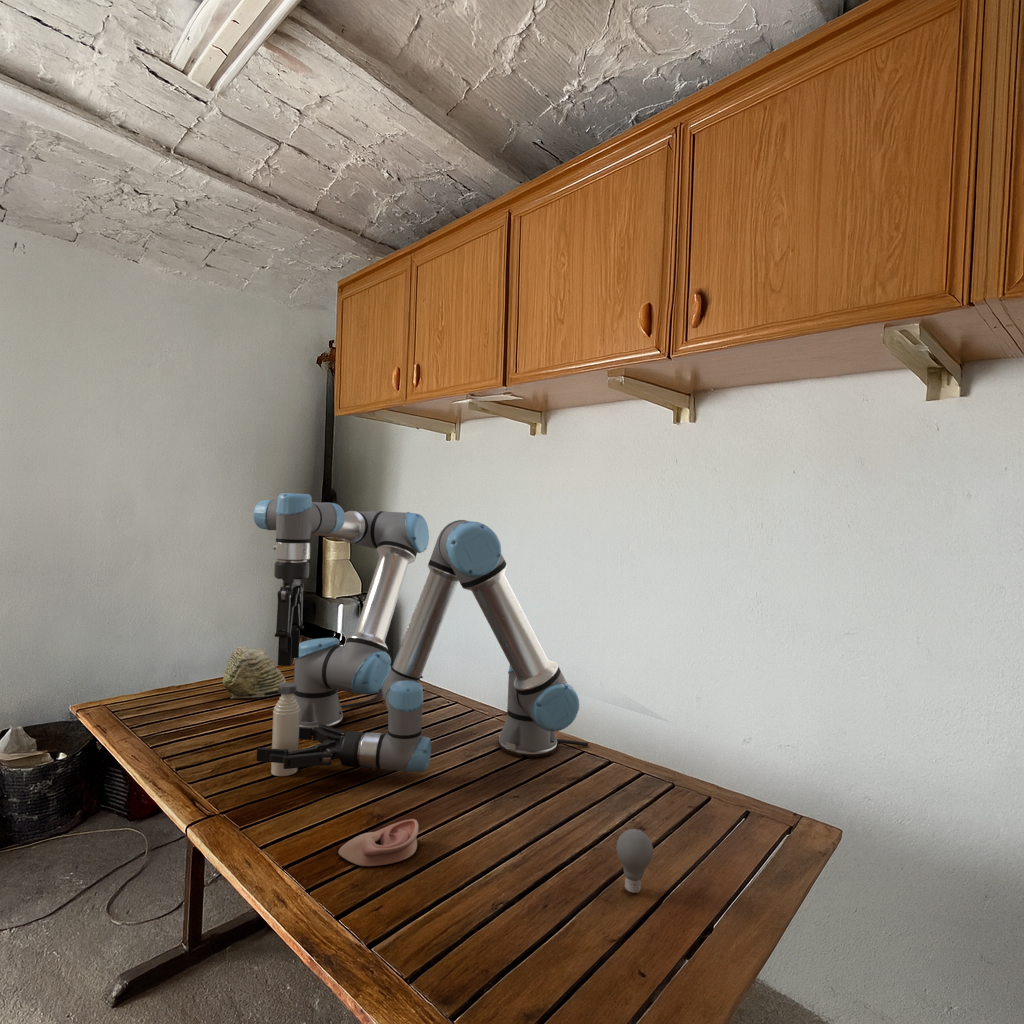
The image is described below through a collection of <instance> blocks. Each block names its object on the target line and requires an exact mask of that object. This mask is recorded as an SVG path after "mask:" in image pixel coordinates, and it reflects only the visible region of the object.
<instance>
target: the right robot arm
mask: <svg viewBox="0 0 1024 1024" xmlns="http://www.w3.org/2000/svg"><path fill="white" fill-rule="evenodd" d="M501 544H502V543H501V541H500V539H499V536H498V535H497V534H496V532H494V531H493V529H492V528H491V527H489V526H488V525H486V524H485V523H481V522H479V521H473V520H465V519H457V520H454V521H451V522H449V523H447V525H445V526H444V527H443V528H442V529H441V530H440V532H439V534H438V536H437V539H436V542H435V544H434V547H433V550H432V552H431V556H430V559H429V561H428V564H427V568H428V569H429V571H428V575H427V577H426V579H425V582H424V585H423V588H422V589H421V592H420V595H419V598H418V599H417V602H416V605H415V607H414V610H413V613H412V615H411V618H410V620H409V623H408V626H407V627H406V631H405V633H404V636H403V638H402V640H401V643H400V645H399V648H398V650H397V654H396V656H395V659H394V660H393V663H392V665H391V671H390V673H389V675H387V676H386V677H385V679H384V680H383V683H382V688H381V689H382V692H381V696H382V698H383V700H384V703H385V706H386V710H387V712H388V714H387V715H388V722H387V723H388V724H387V726H388V727H387V733H384V732H383V733H382V732H370V731H367V732H365V733H364V732H363V731H352V730H351V731H346V730H341V729H338V728H336V727H335V728H332V727H329V726H326V725H322V724H320V725H319V727H314V728H313V729H312V728H308V727H299V740H302V741H303V740H306V741H311V740H312V742H316V741H317V742H318V743H316V744H315V745H314V746H312V747H307V748H301V749H299V750H296V751H290V752H288V749H285V750H283V749H272V747H270V748H269V747H257V748H256V762H262V763H263V762H264V763H271V762H274V763H284V766H283V768H284V769H291V768H298V769H299V768H300V769H301V768H308V767H316V766H318V767H319V766H328V767H329V766H332V760H339V761H340V764H341V765H342V766H343V767H348V768H358V767H360V768H364V769H371V770H372V771H375V770H388V771H399V772H405V773H423V772H425V771H426V770H427V769H428V767H429V765H430V762H431V761H430V760H431V754H432V741H431V739H430V738H429V737H428V736H424V735H423V731H422V723H423V722H422V721H423V707H424V706H423V704H424V701H425V700H424V699H425V698H424V689H423V688H424V687H423V685H422V683H420V680H421V679H422V678H421V675H422V676H423V674H424V673H423V672H424V670H425V668H426V665H427V663H428V659H429V658H430V656H431V652H432V649H433V647H434V644H435V642H436V639H437V637H438V635H439V632H440V629H441V627H442V625H443V623H444V619H445V617H446V614H447V611H448V609H449V607H450V604H451V601H452V599H453V596H454V594H455V592H456V589H457V586H458V584H460V586H461V588H462V589H464V590H466V591H470V592H471V593H472V595H473V597H474V598H475V601H476V602H477V604H478V606H479V608H480V610H481V612H482V614H483V616H484V617H485V620H486V621H487V623H488V625H489V627H490V629H491V631H492V632H493V635H494V637H495V639H496V640H497V643H498V644H499V646H500V649H501V650H502V652H503V654H504V656H505V658H506V661H508V664H509V667H508V672H507V674H508V684H507V688H508V689H507V711H506V718H505V721H504V723H503V726H502V729H501V731H500V734H499V737H498V747H499V749H500V750H501V751H502V752H504V753H506V754H507V755H511V756H513V757H517V758H518V757H519V758H526V759H528V758H529V759H536V758H537V759H539V758H544V757H548V756H550V755H553V754H554V753H556V752H557V749H558V744H563V745H564V744H565V745H572V746H580V747H589V742H588V741H579V740H569V739H559V738H557V735H556V732H559V731H562V730H565V729H566V728H568V727H569V726H570V725H572V724H573V722H575V720H576V718H577V715H578V712H579V710H580V698H579V694H578V693H577V691H576V690H575V688H574V687H573V686H572V685H570V684H569V683H568V682H567V680H566V678H565V676H564V674H563V673H562V670H561V667H560V666H559V664H558V663H557V661H555V660H552V659H550V658H548V657H547V655H546V653H545V651H544V649H543V647H542V645H541V643H540V641H539V639H538V637H537V635H536V633H535V631H534V629H533V627H532V625H531V624H530V621H529V619H528V617H527V615H526V614H525V612H524V610H523V607H522V606H521V604H520V602H519V600H518V598H517V595H516V594H515V592H514V590H513V588H512V586H511V584H510V582H509V580H508V578H507V576H506V571H507V568H508V563H507V562H506V560H505V557H504V556H503V554H502V545H501ZM324 730H325V731H324Z"/></svg>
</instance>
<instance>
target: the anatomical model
mask: <svg viewBox="0 0 1024 1024" xmlns="http://www.w3.org/2000/svg"><path fill="white" fill-rule="evenodd" d="M418 834H419V822H418V820H417V819H415V818H410V819H409V818H408V819H403V820H401V821H398V822H394V823H391V824H390V825H387V826H385V827H383V828H380V829H377V830H375V831H369V832H365V833H362V834H359V835H357V836H355V837H353V838H351V839H350V840H348V841H347V842H346V843H344V844H343V845H342V846H341V847H340V848H339V849H338V852H337V853H338V855H339V856H340V857H341V858H343V859H344V860H346V861H347V862H349V863H352V864H354V865H356V866H359V867H376V866H384V865H391V864H395V863H398V862H402V861H404V860H407V859H408V858H410V857H411V856H413V855H414V854H415V853H416V851H417V849H418V839H417V836H418Z"/></svg>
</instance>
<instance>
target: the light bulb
mask: <svg viewBox="0 0 1024 1024" xmlns="http://www.w3.org/2000/svg"><path fill="white" fill-rule="evenodd" d="M615 849H616V854H617V857H618V859H619V861H620V863H621V865H622V867H623V873H624V874H623V875H624V876H625V878H624V888H625V890H627V891H628V892H630V893H634V894H635V893H639V892H640V891H641V889H642V887H641V886H642V879H643V877H644V875H645V871H646V868H647V867H648V866H649V864H650V863H651V861H652V859H653V855H654V847H653V843H652V841H651V838H649V836H648V835H647V834H646V833H645V832H643V831H642V830H641V829H636V828H629V829H627V830H625V831H623V832H622V833H621V834H620V835H619V837H618V839H617V841H616V847H615Z"/></svg>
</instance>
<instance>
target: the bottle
mask: <svg viewBox="0 0 1024 1024" xmlns="http://www.w3.org/2000/svg"><path fill="white" fill-rule="evenodd" d="M299 725H300V708H299V705H298V702H296V699H295V697H294V693H293V694H280V696H279V699H278V700H277V702H276V704H275V706H274V707H273V710H272V729H271V730H272V733H271V734H272V735H271V749H283V750H285V749H288V752H290V751H296V750H300V749H299V747H300V746H299V745H300V739H299ZM283 766H284V763H274V762H270V774H271V775H273V776H276V777H288V776H291V775H294V774H296V773H297V772H298V770H299V768H291V769H284V768H283Z"/></svg>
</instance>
